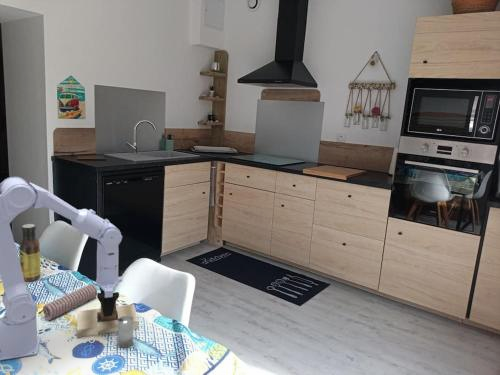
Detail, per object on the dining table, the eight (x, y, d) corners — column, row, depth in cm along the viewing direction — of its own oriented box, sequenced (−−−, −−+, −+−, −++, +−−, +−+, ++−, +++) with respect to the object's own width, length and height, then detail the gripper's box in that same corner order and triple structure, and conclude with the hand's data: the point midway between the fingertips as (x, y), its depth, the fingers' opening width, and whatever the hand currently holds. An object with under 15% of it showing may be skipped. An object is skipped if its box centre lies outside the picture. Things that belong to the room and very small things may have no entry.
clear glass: (117, 349, 100) (118, 325, 98) (116, 340, 103) (117, 317, 102) (133, 346, 101) (134, 322, 100) (132, 338, 105) (132, 315, 104)
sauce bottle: (21, 275, 136) (19, 222, 132) (41, 273, 139) (39, 221, 135) (19, 283, 130) (16, 228, 126) (40, 281, 133) (38, 227, 129)
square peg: (101, 328, 108) (101, 306, 107) (100, 321, 112) (100, 299, 110) (115, 326, 110) (116, 304, 108) (115, 319, 113) (115, 297, 112)
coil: (50, 309, 108) (100, 286, 124) (40, 303, 110) (90, 281, 126) (50, 323, 109) (99, 298, 125) (39, 317, 111) (89, 293, 127)
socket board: (77, 338, 103) (77, 329, 102) (78, 318, 112) (77, 311, 111) (137, 328, 109) (137, 321, 109) (134, 311, 118) (134, 304, 118)
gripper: (124, 274, 102) (123, 319, 105) (120, 254, 115) (119, 295, 118) (96, 276, 99) (96, 323, 102) (95, 256, 112) (95, 298, 115)
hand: (107, 308), depth 110 cm, fingers open, 7 cm apart
